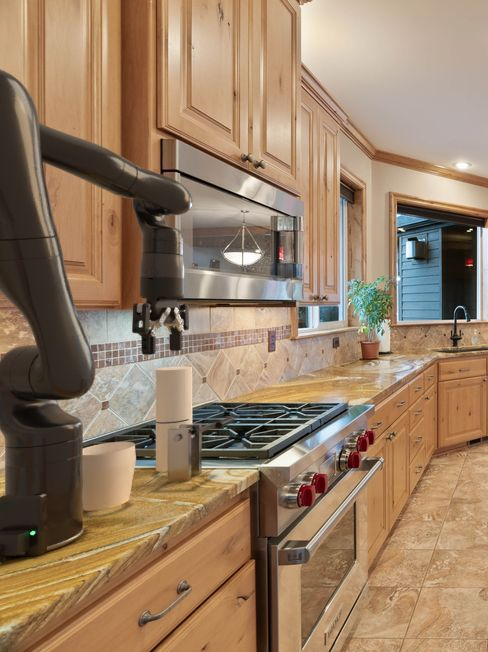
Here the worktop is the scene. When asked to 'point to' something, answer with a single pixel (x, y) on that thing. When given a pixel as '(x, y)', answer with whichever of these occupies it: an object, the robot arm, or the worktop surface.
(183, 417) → the cylindrical container
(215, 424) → the lever
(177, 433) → the bracket
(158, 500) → the worktop surface
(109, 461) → the cup
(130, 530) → the worktop surface
